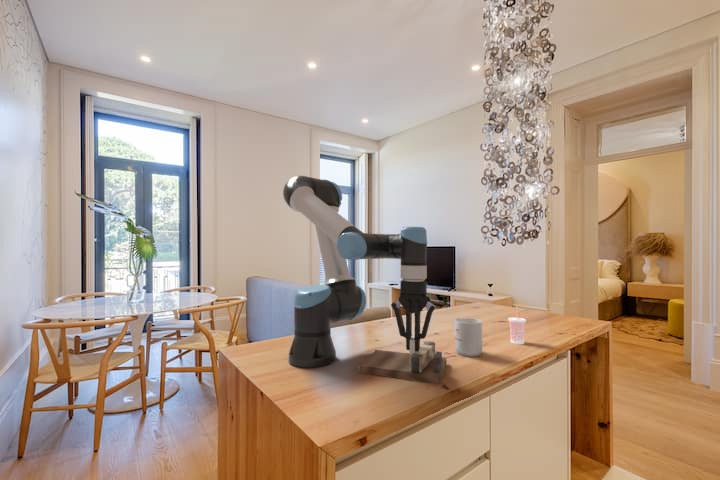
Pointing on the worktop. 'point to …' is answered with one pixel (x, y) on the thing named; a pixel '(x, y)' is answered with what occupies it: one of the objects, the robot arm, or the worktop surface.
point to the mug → (468, 336)
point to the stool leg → (422, 357)
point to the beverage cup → (517, 329)
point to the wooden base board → (403, 366)
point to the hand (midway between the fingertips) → (412, 361)
